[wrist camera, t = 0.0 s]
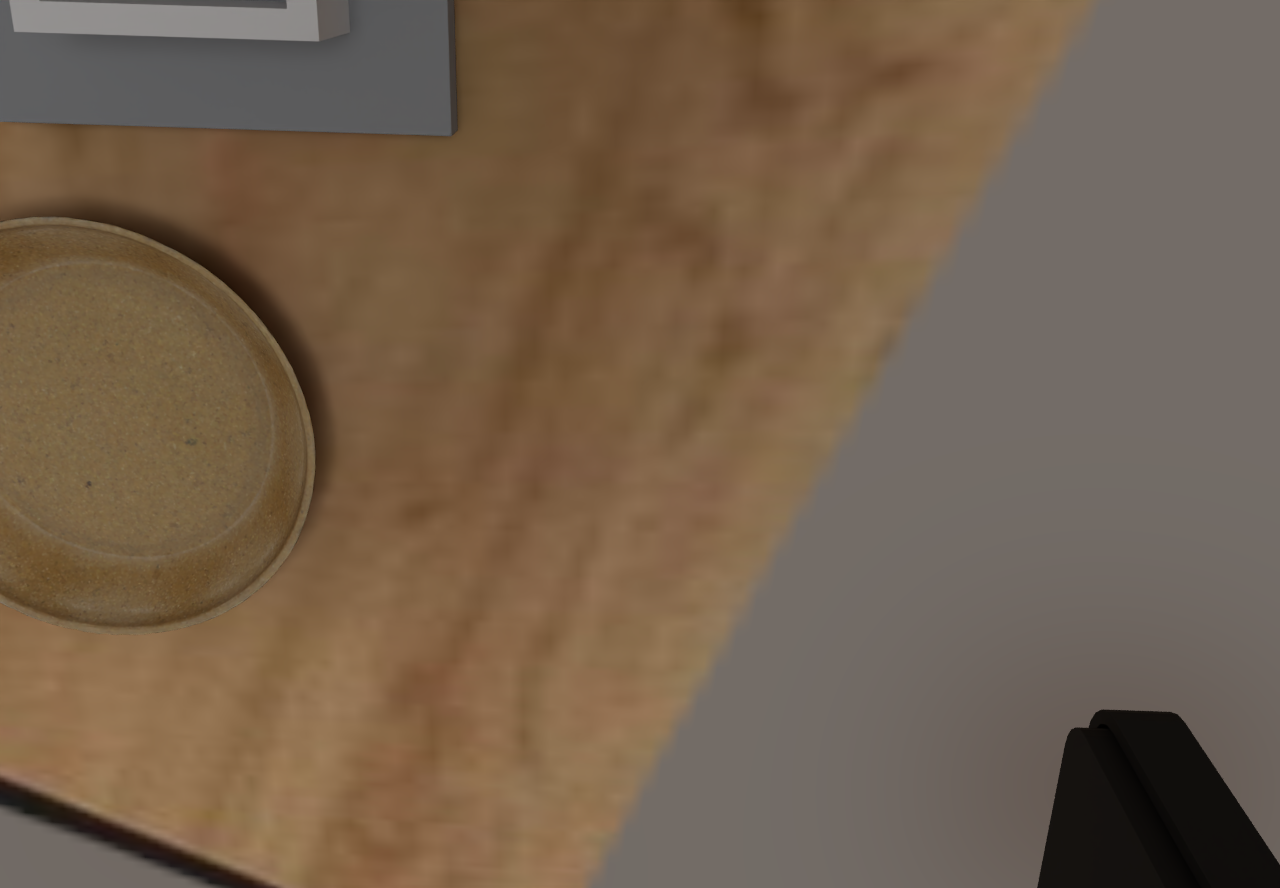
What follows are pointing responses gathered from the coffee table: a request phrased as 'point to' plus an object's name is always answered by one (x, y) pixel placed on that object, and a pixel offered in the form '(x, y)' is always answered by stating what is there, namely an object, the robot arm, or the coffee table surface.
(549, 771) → the coffee table surface
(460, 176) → the coffee table surface
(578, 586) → the coffee table surface
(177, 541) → the plant saucer
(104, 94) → the bottle holder
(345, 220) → the coffee table surface
